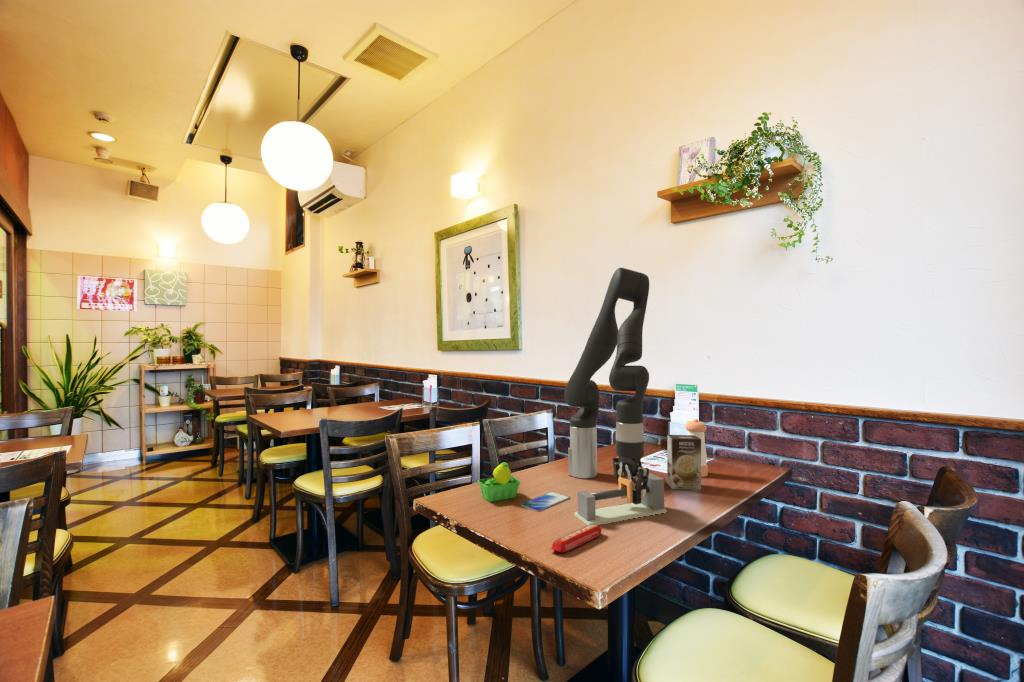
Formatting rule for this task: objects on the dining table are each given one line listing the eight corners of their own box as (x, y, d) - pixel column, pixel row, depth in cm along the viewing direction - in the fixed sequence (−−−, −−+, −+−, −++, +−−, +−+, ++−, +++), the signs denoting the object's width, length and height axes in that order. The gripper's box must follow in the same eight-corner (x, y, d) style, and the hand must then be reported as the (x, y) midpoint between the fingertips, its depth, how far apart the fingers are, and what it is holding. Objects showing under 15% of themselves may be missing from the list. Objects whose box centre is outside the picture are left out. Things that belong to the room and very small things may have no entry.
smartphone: (571, 497, 136) (538, 510, 126) (571, 499, 136) (538, 514, 126) (552, 491, 142) (519, 504, 131) (552, 493, 142) (519, 507, 131)
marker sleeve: (629, 503, 122) (629, 482, 122) (618, 497, 126) (618, 477, 126) (642, 501, 123) (642, 480, 123) (630, 495, 128) (630, 475, 128)
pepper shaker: (683, 470, 163) (682, 417, 163) (704, 471, 162) (703, 417, 162) (688, 476, 156) (687, 421, 156) (710, 477, 155) (709, 421, 155)
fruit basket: (510, 490, 144) (510, 455, 144) (523, 499, 136) (523, 461, 136) (477, 496, 139) (476, 459, 139) (488, 505, 131) (487, 466, 131)
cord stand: (589, 526, 116) (588, 491, 116) (574, 515, 123) (573, 482, 123) (666, 513, 124) (666, 480, 124) (648, 503, 131) (647, 472, 131)
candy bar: (592, 532, 113) (592, 520, 113) (604, 536, 110) (604, 524, 110) (548, 552, 102) (547, 539, 102) (560, 558, 100) (560, 544, 100)
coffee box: (671, 489, 143) (671, 438, 143) (666, 483, 150) (666, 434, 150) (702, 490, 142) (701, 438, 142) (695, 483, 149) (695, 434, 149)
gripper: (657, 442, 119) (658, 507, 119) (626, 432, 133) (626, 490, 133) (633, 445, 117) (634, 511, 117) (603, 434, 130) (604, 493, 130)
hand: (630, 499), depth 125 cm, fingers closed on marker sleeve, 5 cm apart
